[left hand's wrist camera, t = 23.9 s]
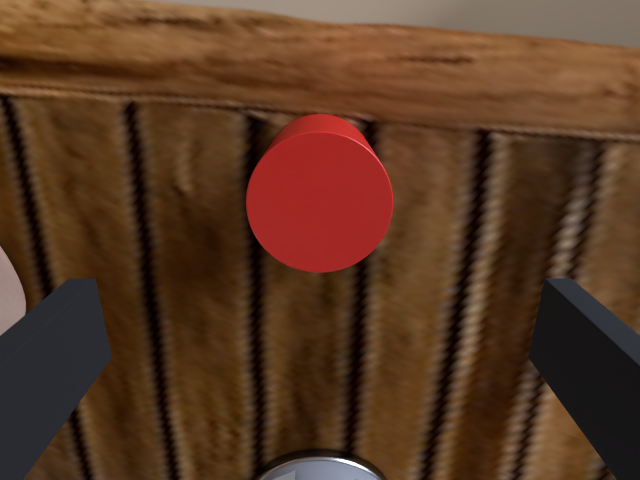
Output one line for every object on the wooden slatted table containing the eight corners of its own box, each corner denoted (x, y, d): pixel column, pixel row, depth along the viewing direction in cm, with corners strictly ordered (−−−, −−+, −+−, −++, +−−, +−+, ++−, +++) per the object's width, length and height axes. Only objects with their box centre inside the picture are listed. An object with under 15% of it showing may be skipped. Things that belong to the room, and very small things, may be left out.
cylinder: (373, 217, 34) (392, 269, 25) (271, 222, 34) (253, 276, 25) (372, 111, 31) (394, 127, 22) (261, 116, 31) (237, 135, 22)
